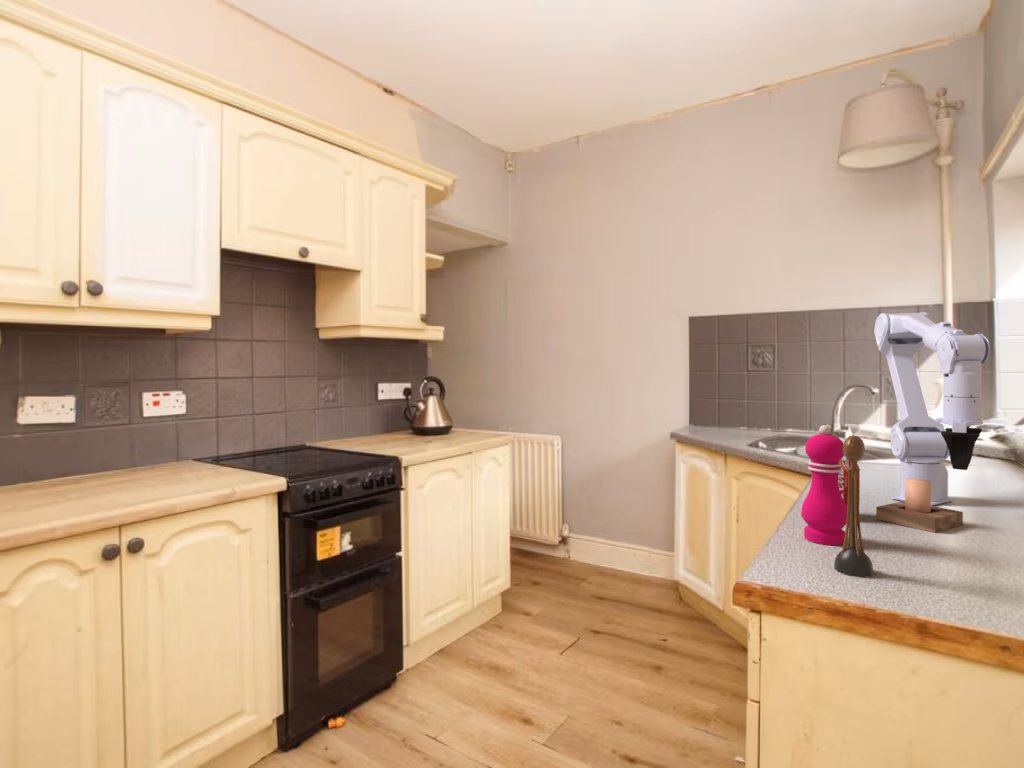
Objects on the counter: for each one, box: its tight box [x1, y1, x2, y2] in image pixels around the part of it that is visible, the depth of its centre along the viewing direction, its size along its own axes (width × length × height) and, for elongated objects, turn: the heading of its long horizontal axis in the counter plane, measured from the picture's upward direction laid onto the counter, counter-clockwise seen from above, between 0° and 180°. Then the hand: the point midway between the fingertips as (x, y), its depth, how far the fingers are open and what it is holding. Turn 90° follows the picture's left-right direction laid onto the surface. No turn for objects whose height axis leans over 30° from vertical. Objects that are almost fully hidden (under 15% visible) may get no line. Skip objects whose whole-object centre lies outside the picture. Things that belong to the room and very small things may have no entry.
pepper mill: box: [800, 424, 848, 546], centre depth 95 cm, size 7×7×20 cm
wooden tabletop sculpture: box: [833, 435, 874, 578], centre depth 81 cm, size 6×5×20 cm
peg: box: [905, 479, 931, 514], centre depth 105 cm, size 4×4×8 cm
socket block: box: [875, 501, 964, 533], centre depth 105 cm, size 10×10×2 cm
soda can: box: [838, 456, 861, 509], centre depth 110 cm, size 7×7×12 cm
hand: (961, 466), depth 107 cm, fingers open, 7 cm apart
